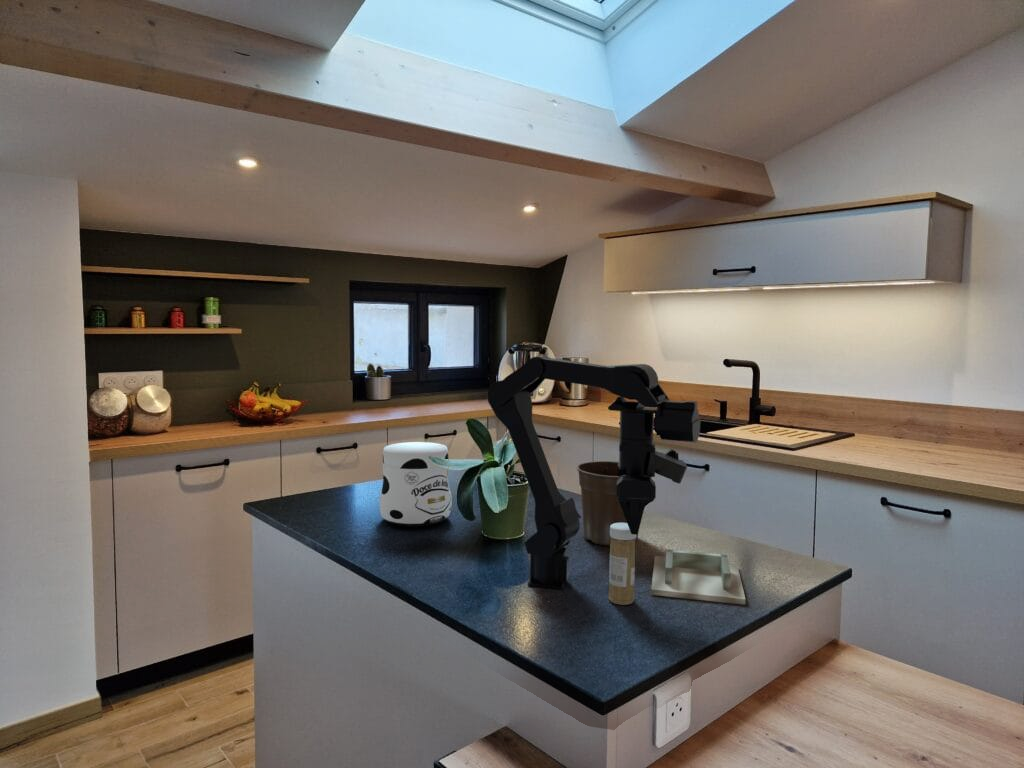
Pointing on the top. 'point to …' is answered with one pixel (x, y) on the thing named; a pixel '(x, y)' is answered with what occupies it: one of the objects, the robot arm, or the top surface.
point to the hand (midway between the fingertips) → (634, 526)
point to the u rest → (697, 577)
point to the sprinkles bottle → (622, 564)
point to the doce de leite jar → (414, 485)
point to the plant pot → (600, 500)
